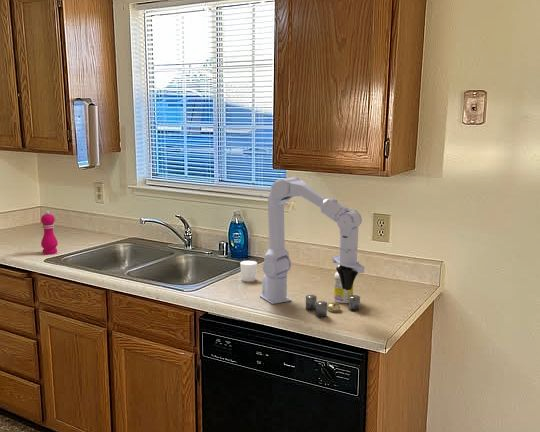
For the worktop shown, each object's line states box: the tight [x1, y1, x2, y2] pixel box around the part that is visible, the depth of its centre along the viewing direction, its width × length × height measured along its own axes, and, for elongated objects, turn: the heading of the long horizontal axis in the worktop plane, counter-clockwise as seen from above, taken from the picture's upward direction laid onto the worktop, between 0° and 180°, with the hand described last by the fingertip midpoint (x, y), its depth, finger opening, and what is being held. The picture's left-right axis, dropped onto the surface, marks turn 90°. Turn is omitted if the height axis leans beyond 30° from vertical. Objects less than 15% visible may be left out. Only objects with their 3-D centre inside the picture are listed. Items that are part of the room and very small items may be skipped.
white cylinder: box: [239, 260, 258, 283], centre depth 219 cm, size 7×7×7 cm
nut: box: [327, 302, 341, 313], centre depth 186 cm, size 4×4×2 cm
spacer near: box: [305, 294, 317, 312], centre depth 186 cm, size 4×4×4 cm
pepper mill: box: [40, 210, 59, 256], centre depth 255 cm, size 7×7×20 cm
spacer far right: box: [315, 300, 328, 319], centre depth 180 cm, size 4×4×4 cm
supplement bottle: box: [333, 264, 354, 304], centre depth 194 cm, size 7×7×13 cm
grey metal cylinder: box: [348, 294, 361, 312], centre depth 187 cm, size 4×4×4 cm
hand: (346, 289), depth 179 cm, fingers closed
